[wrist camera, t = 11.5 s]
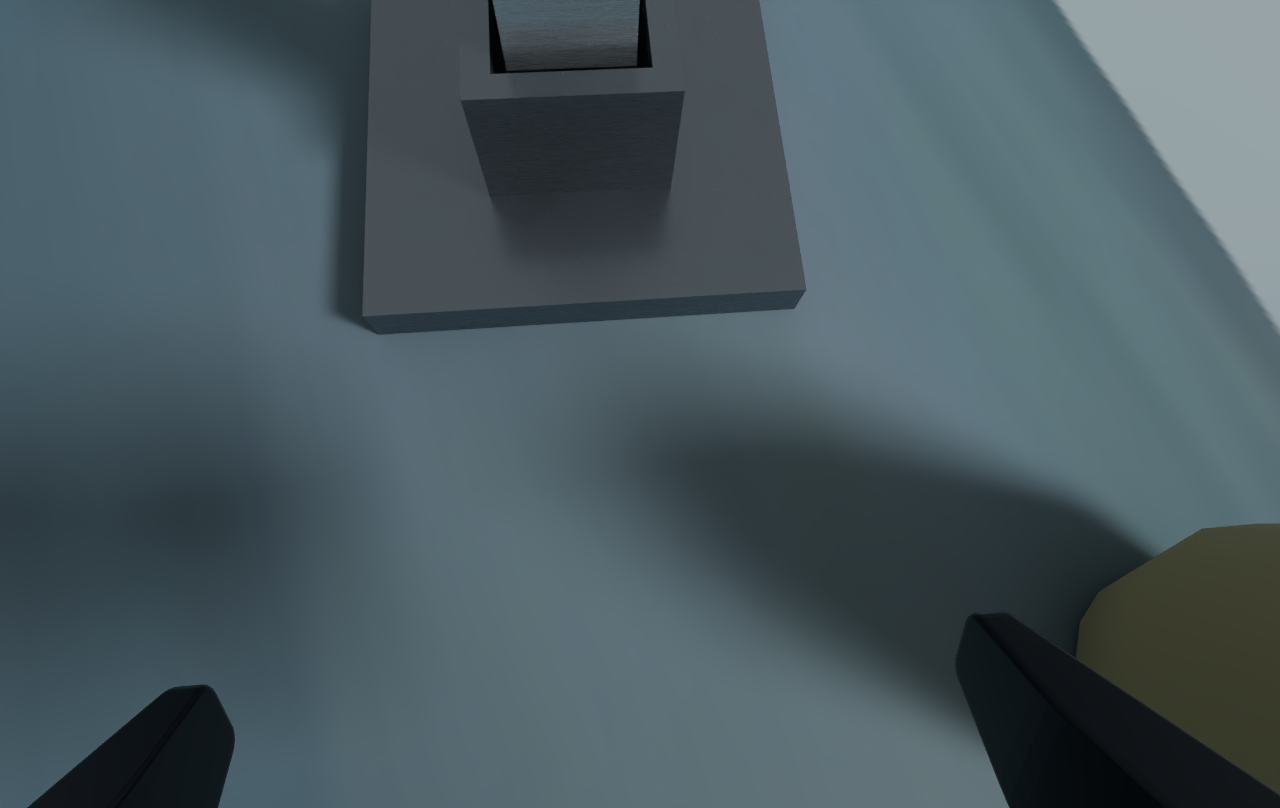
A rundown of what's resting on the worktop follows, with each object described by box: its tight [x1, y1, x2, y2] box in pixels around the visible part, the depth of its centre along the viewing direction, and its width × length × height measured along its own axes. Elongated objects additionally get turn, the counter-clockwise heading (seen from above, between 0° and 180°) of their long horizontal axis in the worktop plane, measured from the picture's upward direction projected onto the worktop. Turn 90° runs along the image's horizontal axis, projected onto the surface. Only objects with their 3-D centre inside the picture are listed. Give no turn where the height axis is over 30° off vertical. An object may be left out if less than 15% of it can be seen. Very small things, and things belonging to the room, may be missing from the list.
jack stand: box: [362, 0, 806, 334], centre depth 22 cm, size 14×14×6 cm
